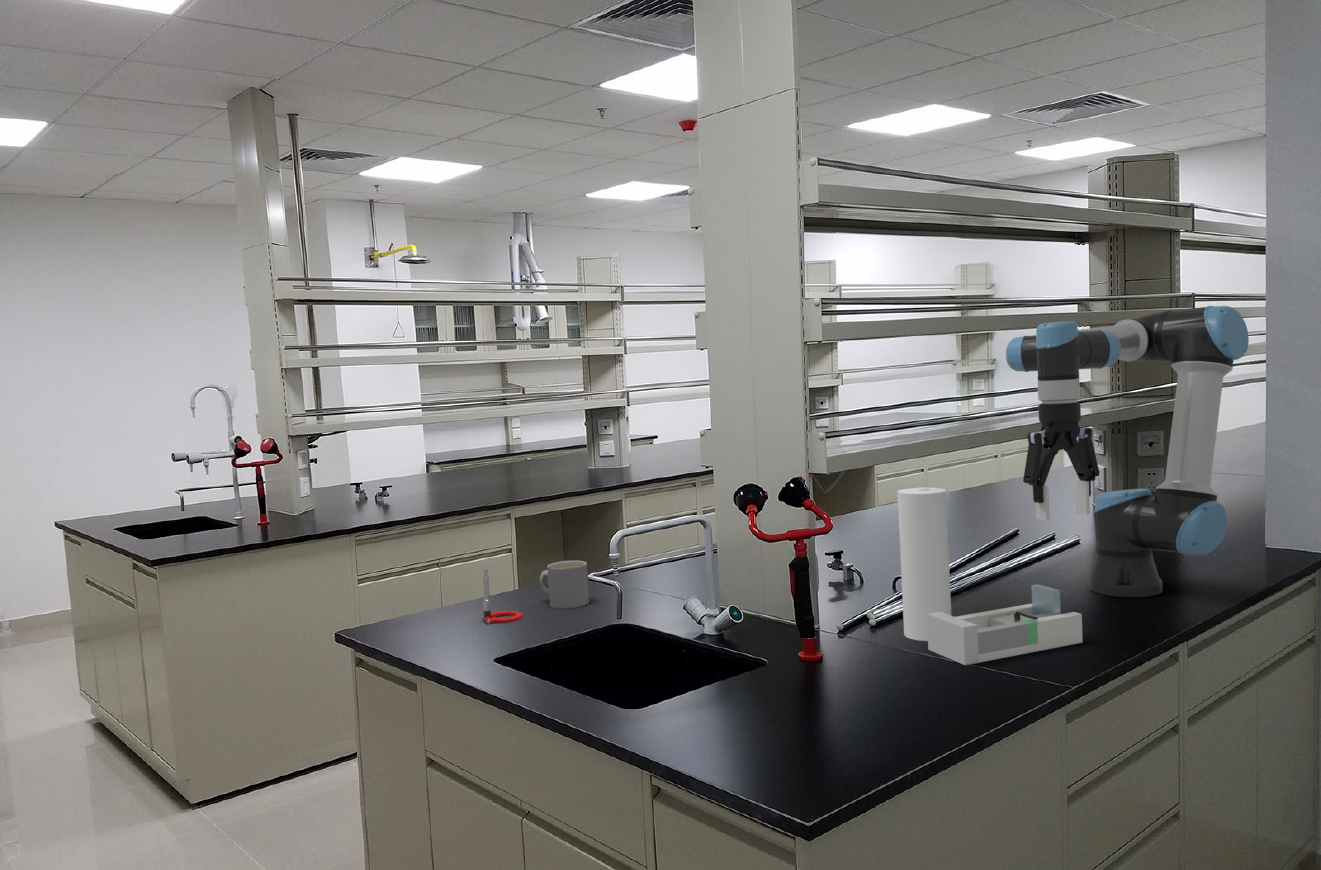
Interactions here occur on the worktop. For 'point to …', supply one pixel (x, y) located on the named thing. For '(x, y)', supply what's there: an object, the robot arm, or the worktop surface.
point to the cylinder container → (923, 557)
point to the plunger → (1034, 606)
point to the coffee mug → (566, 584)
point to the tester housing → (999, 634)
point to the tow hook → (490, 616)
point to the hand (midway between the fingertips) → (1063, 516)
